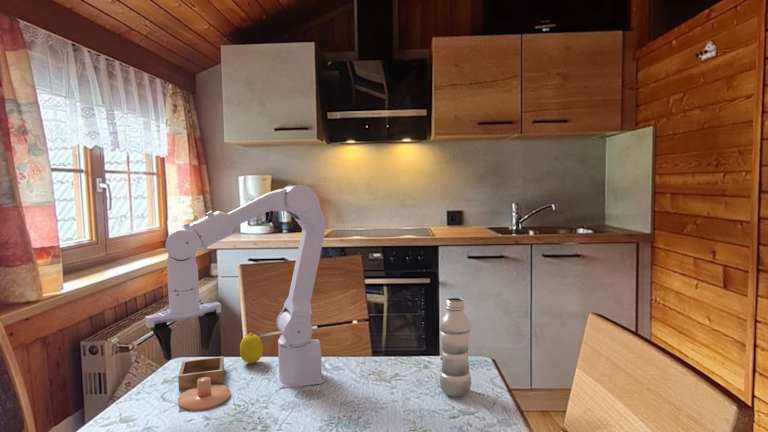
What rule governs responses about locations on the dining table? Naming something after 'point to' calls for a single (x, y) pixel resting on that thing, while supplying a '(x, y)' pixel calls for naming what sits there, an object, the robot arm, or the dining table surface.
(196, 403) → the lid
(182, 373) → the wooden open tray
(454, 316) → the plastic bottle
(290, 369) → the robot arm
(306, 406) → the dining table surface
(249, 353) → the lemon
